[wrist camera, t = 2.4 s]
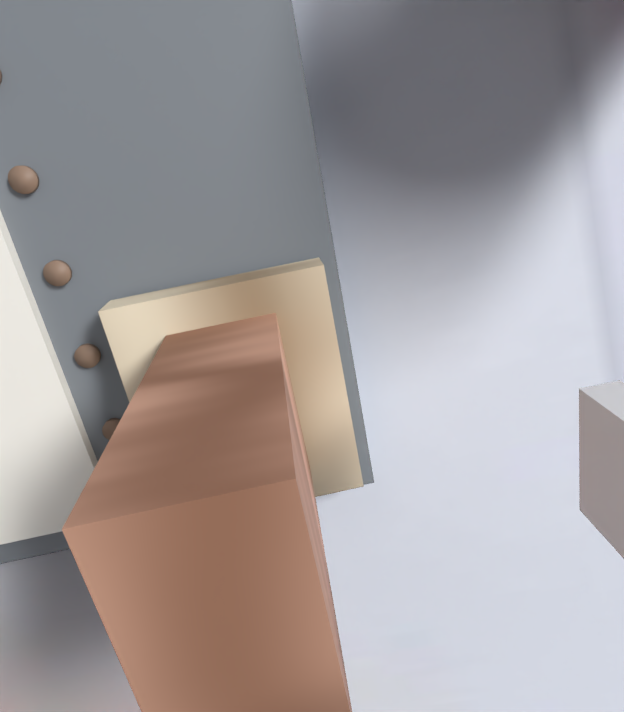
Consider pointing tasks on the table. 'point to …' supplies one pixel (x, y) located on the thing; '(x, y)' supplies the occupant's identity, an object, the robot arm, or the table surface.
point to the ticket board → (135, 209)
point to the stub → (222, 495)
